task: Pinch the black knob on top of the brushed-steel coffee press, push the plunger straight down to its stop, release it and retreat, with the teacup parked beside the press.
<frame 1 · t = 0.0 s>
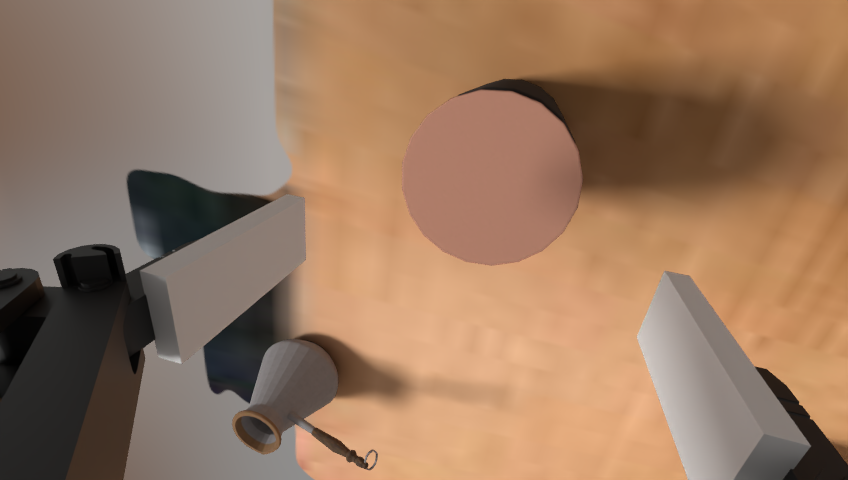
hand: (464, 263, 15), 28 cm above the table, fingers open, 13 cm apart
coffee jar: (507, 136, 40), on the table
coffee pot: (341, 363, 58), on the table
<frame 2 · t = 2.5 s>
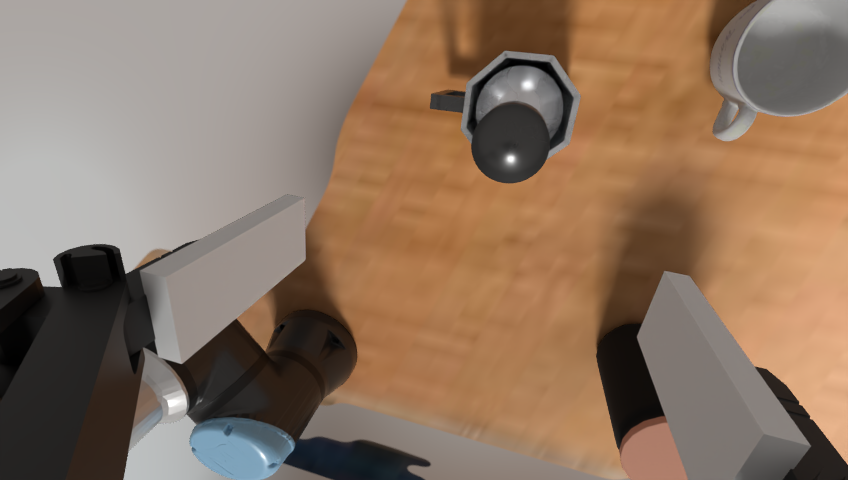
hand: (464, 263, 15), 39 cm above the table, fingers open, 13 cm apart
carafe: (520, 103, 48), on the table
coffee jar: (635, 350, 57), on the table
teacup: (744, 68, 42), on the table
plunger: (515, 123, 30), point 21 cm above the table, slide at 0.0 cm
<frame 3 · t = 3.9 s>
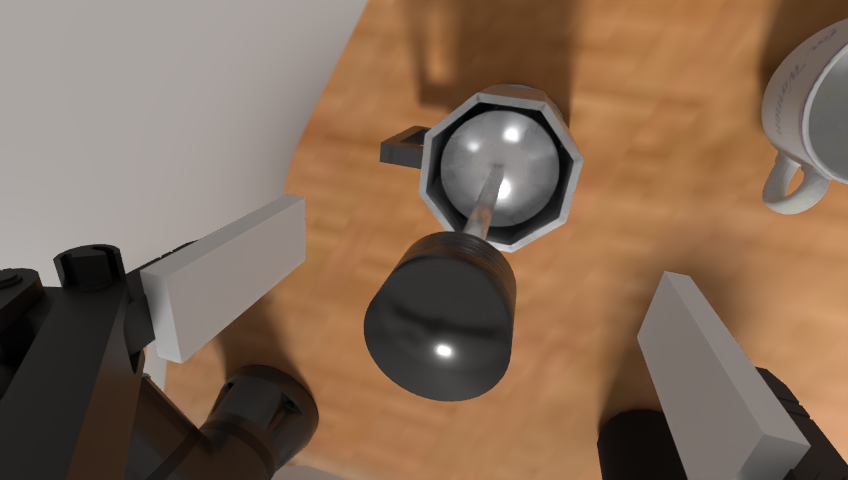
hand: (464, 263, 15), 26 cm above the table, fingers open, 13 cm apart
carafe: (508, 143, 38), on the table
coffee jar: (644, 438, 47), on the table
teacup: (806, 110, 31), on the table
plunger: (481, 216, 20), point 21 cm above the table, slide at 0.0 cm
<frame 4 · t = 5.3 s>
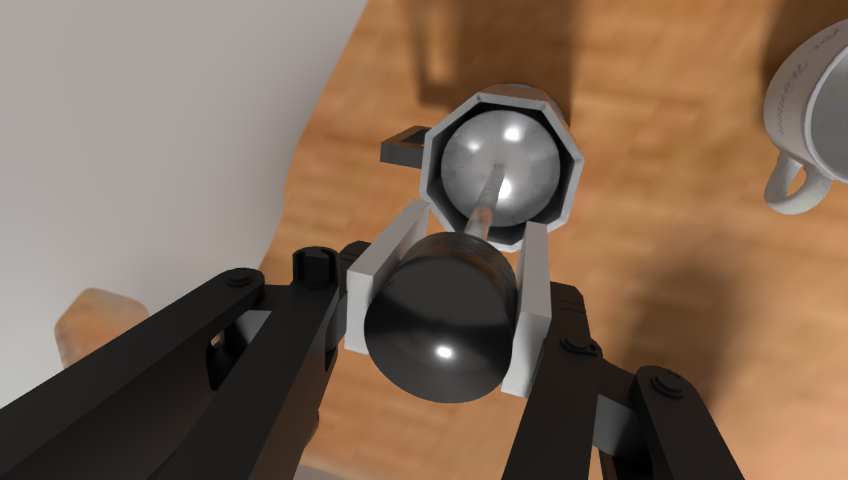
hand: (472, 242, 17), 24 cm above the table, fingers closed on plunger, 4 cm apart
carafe: (509, 143, 38), on the table
teacup: (808, 110, 31), on the table
plunger: (481, 217, 19), point 21 cm above the table, slide at 0.0 cm, touching gripper
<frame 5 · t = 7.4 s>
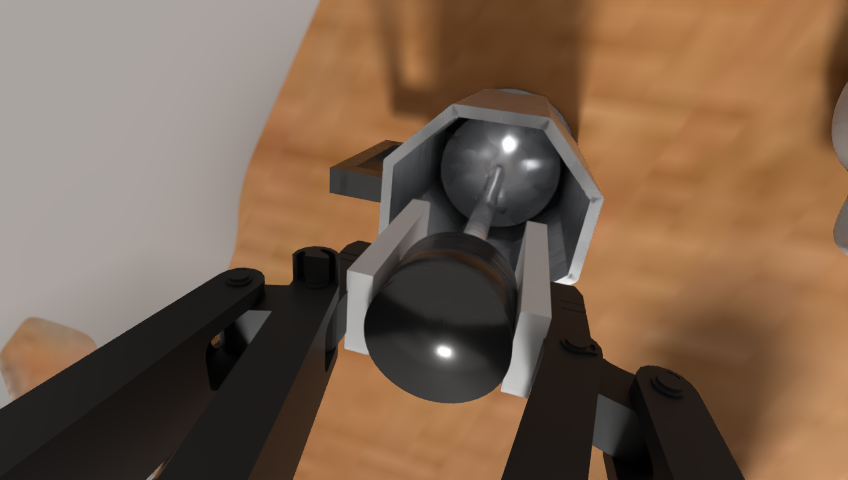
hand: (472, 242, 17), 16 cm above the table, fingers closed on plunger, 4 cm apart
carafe: (502, 161, 31), on the table
plunger: (481, 217, 19), point 13 cm above the table, slide at 8.0 cm, touching gripper
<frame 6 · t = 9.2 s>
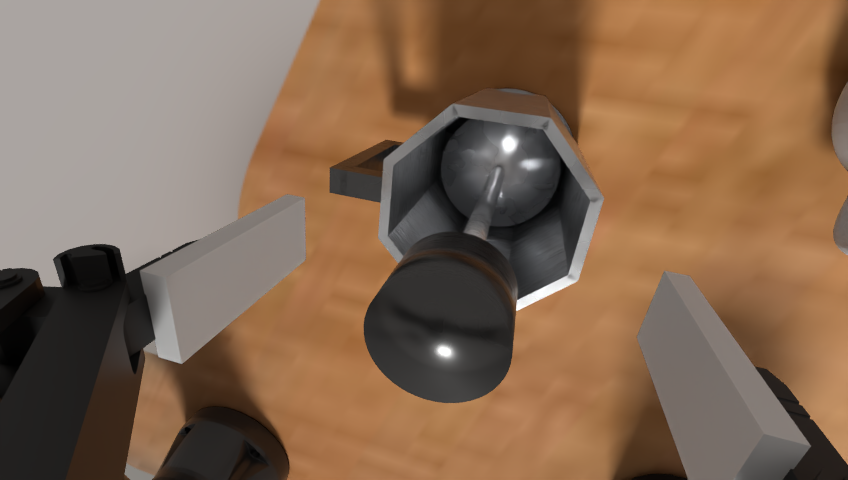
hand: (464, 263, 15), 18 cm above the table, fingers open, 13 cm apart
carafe: (502, 161, 31), on the table
plunger: (481, 216, 19), point 13 cm above the table, slide at 8.0 cm
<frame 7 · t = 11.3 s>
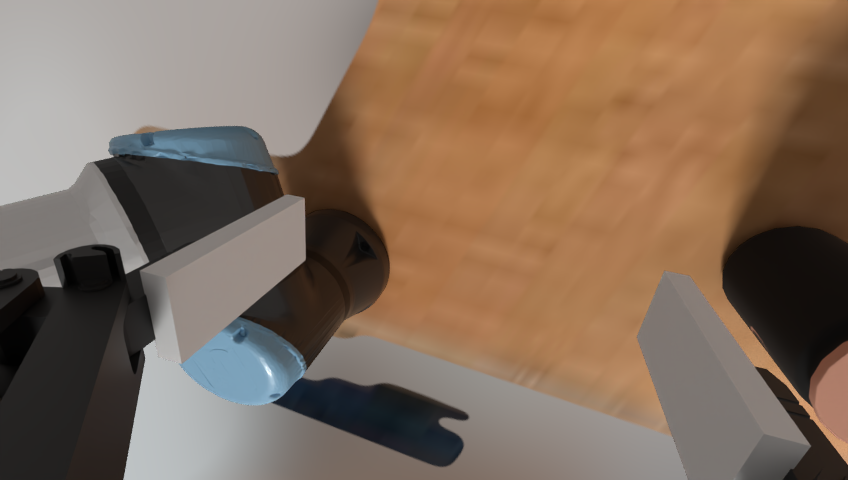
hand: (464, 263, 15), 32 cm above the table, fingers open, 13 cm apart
coffee jar: (777, 269, 42), on the table
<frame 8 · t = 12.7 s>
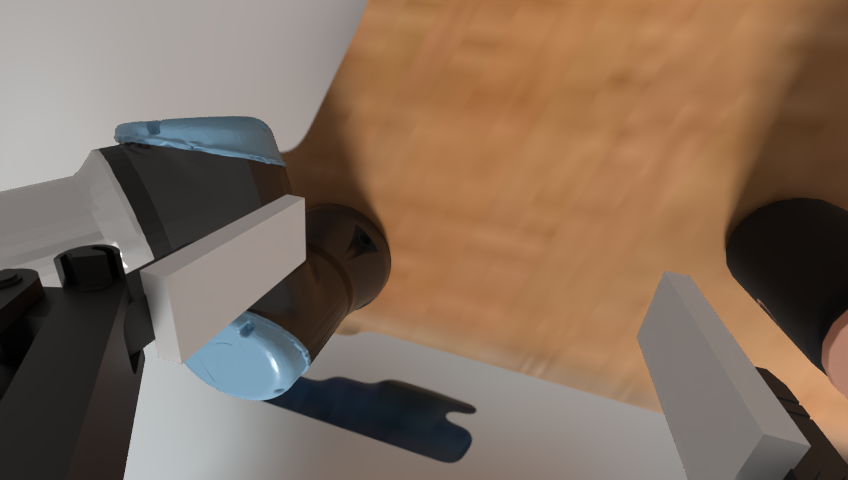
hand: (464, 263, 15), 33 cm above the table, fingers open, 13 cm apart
coffee jar: (780, 243, 42), on the table
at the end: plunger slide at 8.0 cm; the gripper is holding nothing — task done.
